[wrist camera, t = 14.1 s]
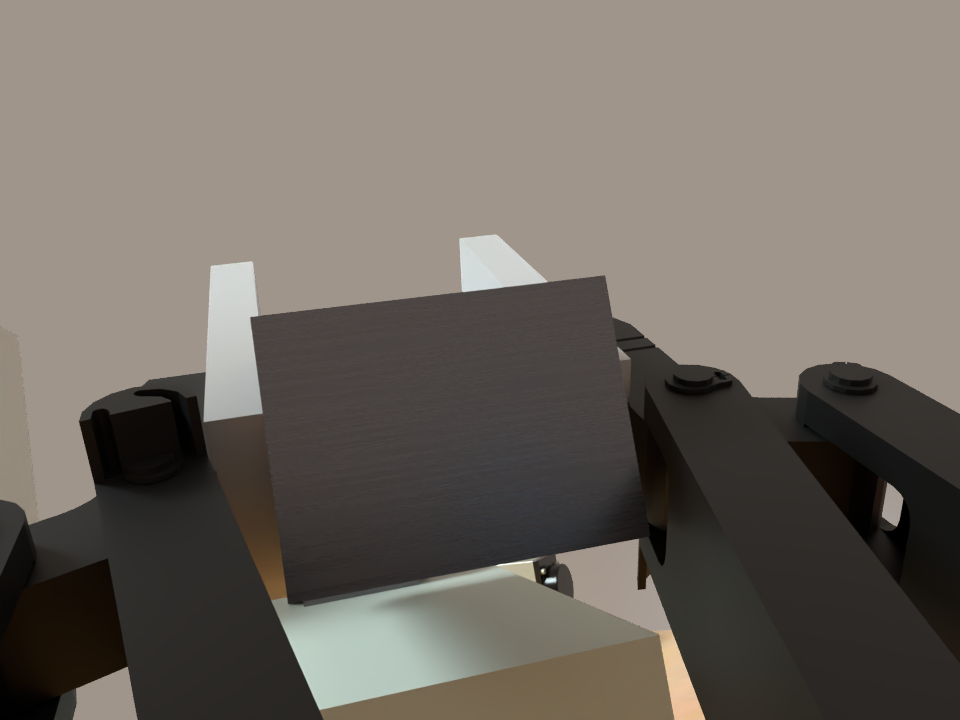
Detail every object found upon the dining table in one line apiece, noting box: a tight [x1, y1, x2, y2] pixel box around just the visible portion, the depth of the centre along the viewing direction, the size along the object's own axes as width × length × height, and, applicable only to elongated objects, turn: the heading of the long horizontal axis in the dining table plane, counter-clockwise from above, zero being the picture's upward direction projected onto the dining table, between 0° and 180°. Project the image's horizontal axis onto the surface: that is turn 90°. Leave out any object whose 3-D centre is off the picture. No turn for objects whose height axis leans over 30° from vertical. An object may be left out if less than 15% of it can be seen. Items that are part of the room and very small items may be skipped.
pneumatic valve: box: [496, 554, 573, 598], centre depth 90 cm, size 6×12×12 cm, turn 65°
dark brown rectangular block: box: [250, 276, 650, 604], centre depth 19 cm, size 20×5×3 cm, turn 12°
